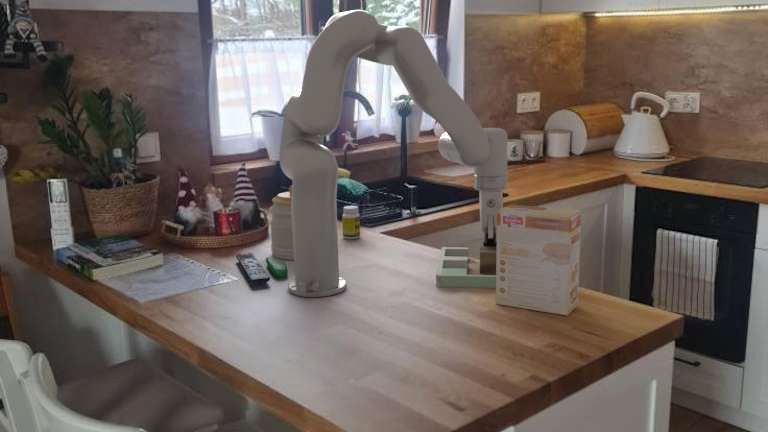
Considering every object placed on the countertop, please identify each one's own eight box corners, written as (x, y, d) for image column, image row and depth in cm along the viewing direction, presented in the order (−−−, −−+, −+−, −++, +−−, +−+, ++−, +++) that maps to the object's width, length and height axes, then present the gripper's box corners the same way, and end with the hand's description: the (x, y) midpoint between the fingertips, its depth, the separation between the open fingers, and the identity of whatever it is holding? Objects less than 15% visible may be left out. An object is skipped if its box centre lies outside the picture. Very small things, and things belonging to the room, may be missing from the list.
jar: (263, 259, 187) (259, 189, 183) (282, 245, 199) (279, 179, 195) (313, 262, 184) (310, 190, 180) (329, 248, 196) (327, 181, 192)
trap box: (518, 288, 162) (518, 277, 161) (436, 286, 164) (436, 275, 163) (514, 258, 184) (514, 248, 183) (441, 256, 186) (441, 247, 186)
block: (502, 273, 172) (502, 252, 171) (479, 273, 173) (479, 252, 171) (501, 267, 177) (501, 246, 176) (479, 267, 177) (479, 246, 176)
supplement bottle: (357, 239, 204) (357, 209, 202) (340, 239, 205) (339, 208, 203) (362, 235, 209) (361, 205, 207) (345, 234, 210) (344, 204, 208)
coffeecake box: (578, 305, 151) (582, 209, 146) (567, 316, 145) (571, 217, 140) (507, 294, 158) (509, 202, 154) (494, 304, 152) (495, 209, 148)
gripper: (508, 188, 167) (507, 268, 171) (505, 176, 182) (505, 249, 186) (474, 188, 168) (474, 267, 172) (474, 176, 183) (474, 249, 187)
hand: (490, 258), depth 179 cm, fingers closed
